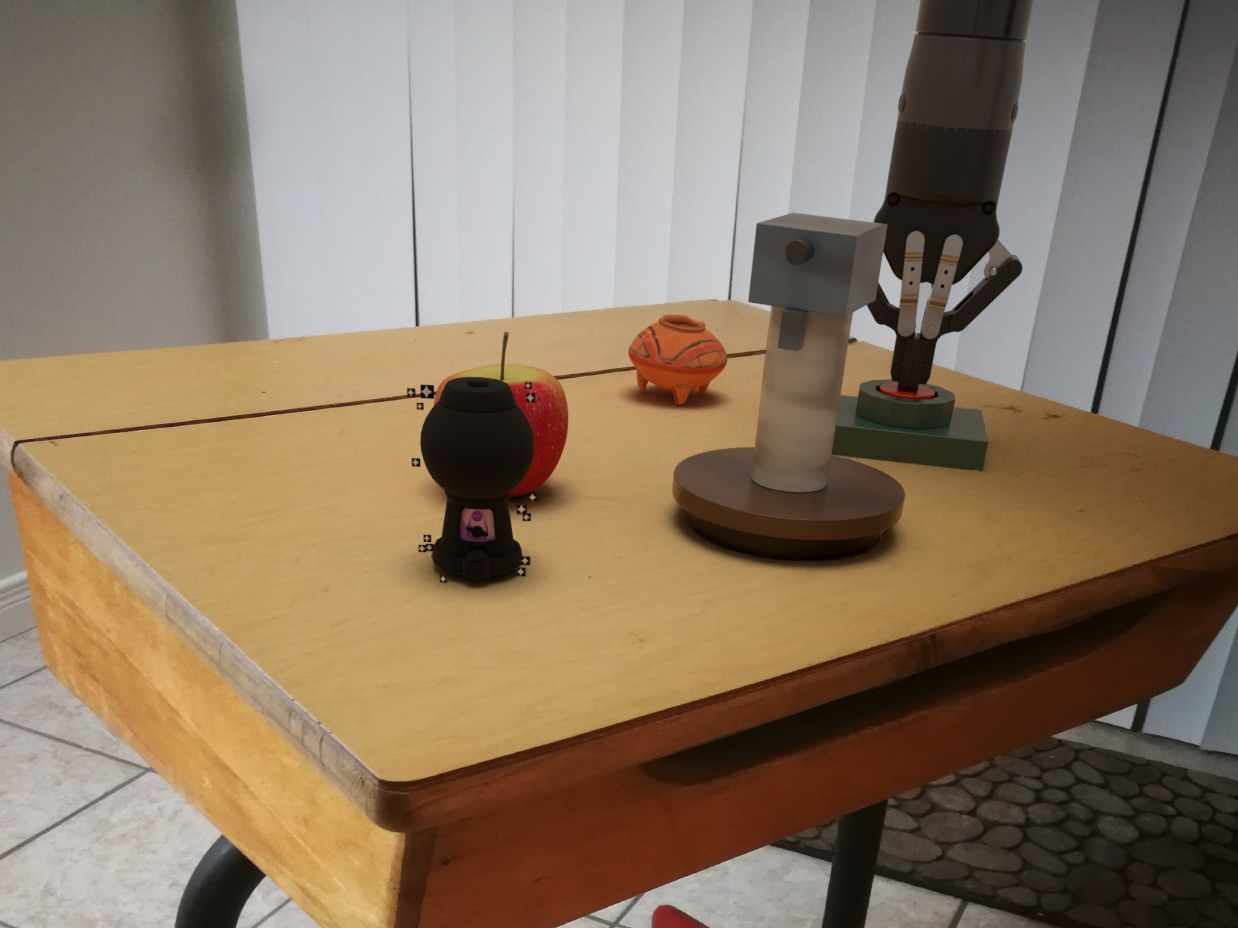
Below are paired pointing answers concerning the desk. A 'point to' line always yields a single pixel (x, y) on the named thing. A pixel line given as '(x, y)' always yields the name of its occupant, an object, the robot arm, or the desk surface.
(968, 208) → the robot arm
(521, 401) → the apple
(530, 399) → the gumball machine
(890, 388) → the button
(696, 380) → the pot
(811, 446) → the grey-topped column stand
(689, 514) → the base
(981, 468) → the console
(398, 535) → the desk surface
